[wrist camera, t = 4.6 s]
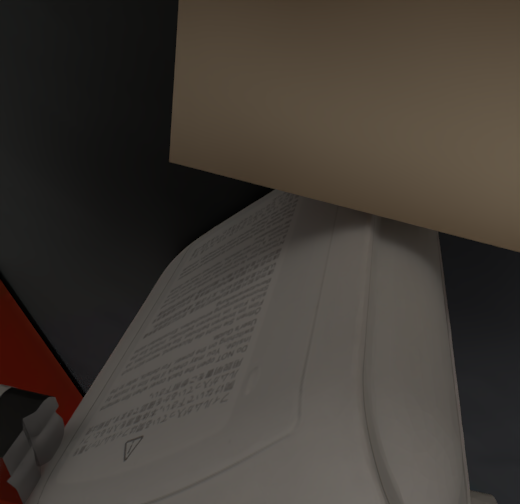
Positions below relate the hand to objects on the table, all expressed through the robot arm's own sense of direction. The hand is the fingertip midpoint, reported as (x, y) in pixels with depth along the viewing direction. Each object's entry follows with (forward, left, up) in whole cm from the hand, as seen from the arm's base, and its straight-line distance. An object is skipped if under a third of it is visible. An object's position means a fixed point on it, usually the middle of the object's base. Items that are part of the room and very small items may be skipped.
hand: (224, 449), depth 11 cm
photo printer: (0, 0, -9) cm, 9 cm away
